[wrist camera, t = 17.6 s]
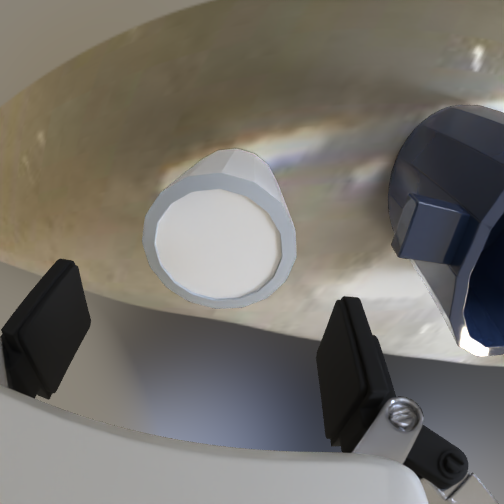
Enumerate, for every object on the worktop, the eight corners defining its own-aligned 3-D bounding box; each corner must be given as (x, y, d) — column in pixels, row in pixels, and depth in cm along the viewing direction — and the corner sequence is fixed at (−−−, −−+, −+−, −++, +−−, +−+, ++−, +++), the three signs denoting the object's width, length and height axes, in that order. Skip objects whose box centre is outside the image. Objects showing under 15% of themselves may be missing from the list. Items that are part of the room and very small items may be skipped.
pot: (371, 65, 15) (461, 65, 7) (553, 149, 15) (631, 197, 7) (330, 251, 21) (360, 359, 13) (504, 275, 22) (556, 347, 14)
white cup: (310, 200, 20) (328, 261, 14) (228, 257, 22) (214, 330, 16) (238, 115, 17) (222, 137, 11) (157, 186, 19) (112, 240, 13)
